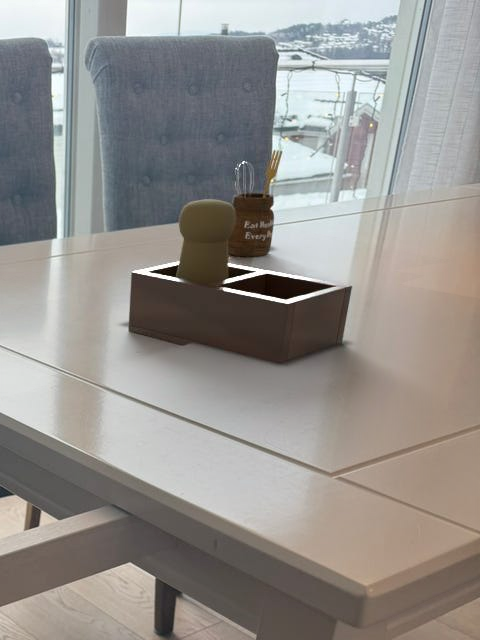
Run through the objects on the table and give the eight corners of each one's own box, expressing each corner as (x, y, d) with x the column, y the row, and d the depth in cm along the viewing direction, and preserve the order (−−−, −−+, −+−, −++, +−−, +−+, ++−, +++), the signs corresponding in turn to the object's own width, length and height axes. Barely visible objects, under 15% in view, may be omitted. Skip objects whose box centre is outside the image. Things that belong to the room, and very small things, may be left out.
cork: (154, 323, 92) (162, 201, 86) (192, 311, 95) (203, 193, 89) (203, 334, 88) (215, 207, 82) (241, 322, 91) (256, 199, 85)
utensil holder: (214, 252, 125) (224, 151, 119) (251, 246, 127) (262, 148, 121) (244, 259, 121) (256, 155, 114) (281, 253, 123) (295, 152, 117)
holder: (190, 314, 98) (195, 257, 95) (341, 349, 86) (352, 285, 83) (128, 330, 93) (131, 271, 90) (278, 370, 81) (288, 303, 78)
